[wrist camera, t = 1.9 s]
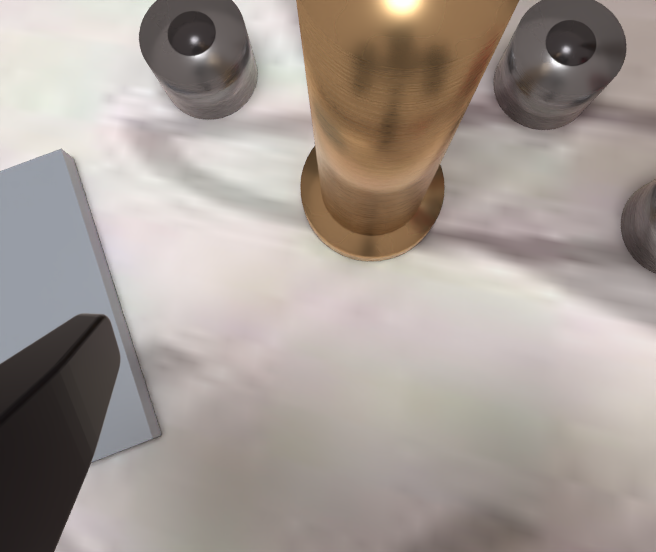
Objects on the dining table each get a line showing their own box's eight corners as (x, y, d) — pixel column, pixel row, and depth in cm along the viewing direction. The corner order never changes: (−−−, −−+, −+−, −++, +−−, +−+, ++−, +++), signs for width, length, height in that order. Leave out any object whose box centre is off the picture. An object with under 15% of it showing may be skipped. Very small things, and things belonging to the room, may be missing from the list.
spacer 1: (270, 100, 23) (259, 60, 20) (182, 133, 23) (157, 97, 20) (239, 21, 24) (224, -30, 21) (153, 52, 23) (125, 6, 20)
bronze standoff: (461, 231, 22) (631, 41, 9) (331, 281, 22) (313, 161, 9) (408, 110, 23) (493, -223, 10) (282, 157, 22) (202, -119, 10)
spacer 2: (605, 110, 22) (646, 70, 19) (516, 144, 22) (543, 109, 19) (564, 28, 23) (597, -22, 20) (477, 61, 23) (498, 15, 20)
